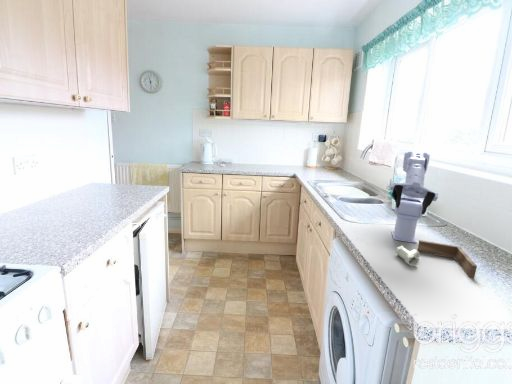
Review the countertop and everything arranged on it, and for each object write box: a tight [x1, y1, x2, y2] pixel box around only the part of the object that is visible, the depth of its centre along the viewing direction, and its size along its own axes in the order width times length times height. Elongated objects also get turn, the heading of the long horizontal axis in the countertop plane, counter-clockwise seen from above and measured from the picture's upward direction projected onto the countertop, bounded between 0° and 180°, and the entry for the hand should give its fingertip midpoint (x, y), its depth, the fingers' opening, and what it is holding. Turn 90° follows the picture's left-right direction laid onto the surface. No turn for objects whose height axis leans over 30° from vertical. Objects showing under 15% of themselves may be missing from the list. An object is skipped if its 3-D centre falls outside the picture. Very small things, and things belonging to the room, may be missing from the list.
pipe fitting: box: [395, 245, 421, 267], centre depth 95 cm, size 8×4×7 cm
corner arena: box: [416, 239, 478, 279], centre depth 94 cm, size 16×13×4 cm
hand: (410, 209), depth 92 cm, fingers open, 7 cm apart
